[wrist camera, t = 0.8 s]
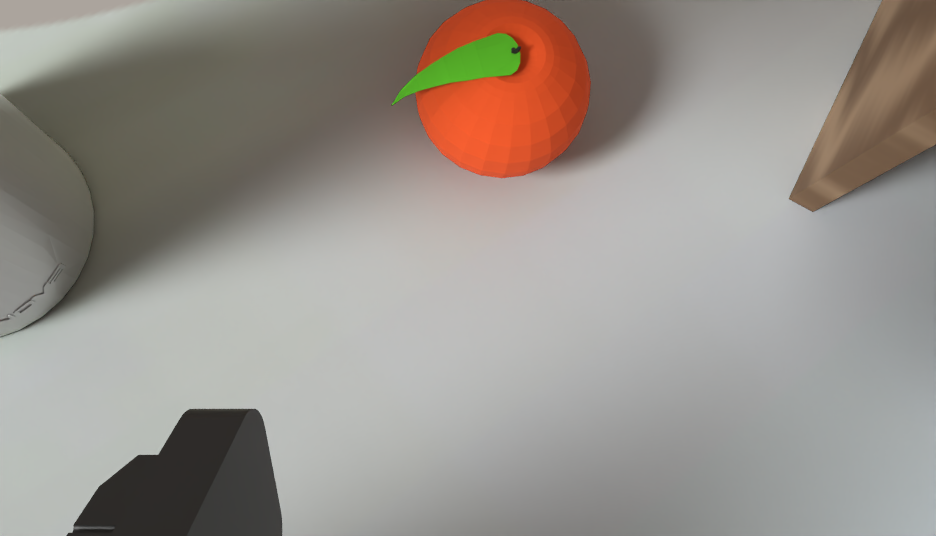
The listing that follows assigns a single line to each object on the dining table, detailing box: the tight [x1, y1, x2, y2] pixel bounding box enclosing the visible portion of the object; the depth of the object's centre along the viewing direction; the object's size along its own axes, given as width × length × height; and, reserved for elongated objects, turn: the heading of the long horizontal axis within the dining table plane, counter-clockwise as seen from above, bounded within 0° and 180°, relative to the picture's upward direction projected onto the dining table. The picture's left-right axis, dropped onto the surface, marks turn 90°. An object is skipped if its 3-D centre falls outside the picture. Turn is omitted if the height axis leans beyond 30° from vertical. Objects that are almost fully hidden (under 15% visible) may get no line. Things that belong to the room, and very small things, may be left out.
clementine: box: [391, 0, 591, 178], centre depth 33 cm, size 8×7×7 cm
